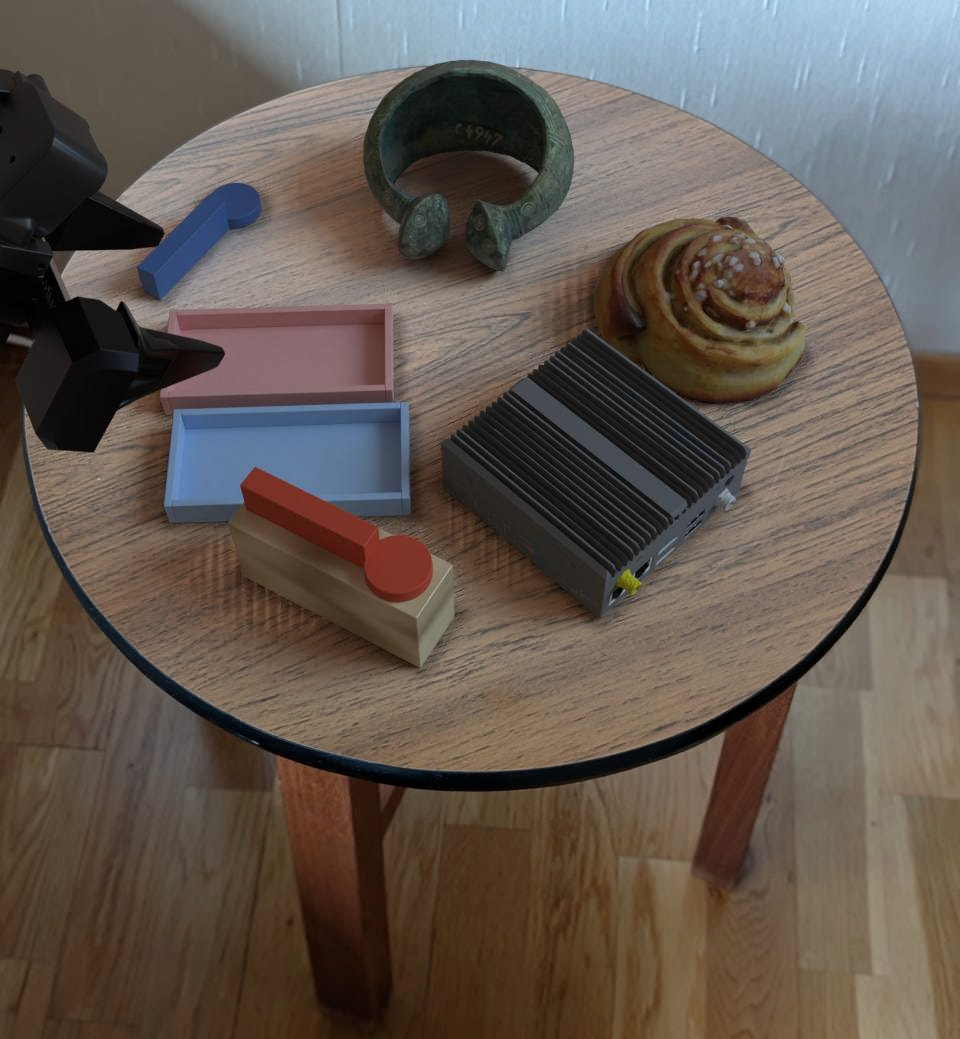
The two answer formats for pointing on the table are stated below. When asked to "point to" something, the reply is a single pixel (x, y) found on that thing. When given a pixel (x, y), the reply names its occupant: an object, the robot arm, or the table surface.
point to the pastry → (702, 309)
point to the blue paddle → (198, 236)
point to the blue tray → (290, 457)
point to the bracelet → (467, 127)
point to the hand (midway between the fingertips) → (190, 295)
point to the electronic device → (593, 470)
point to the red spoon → (343, 536)
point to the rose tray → (288, 356)
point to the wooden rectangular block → (343, 588)
